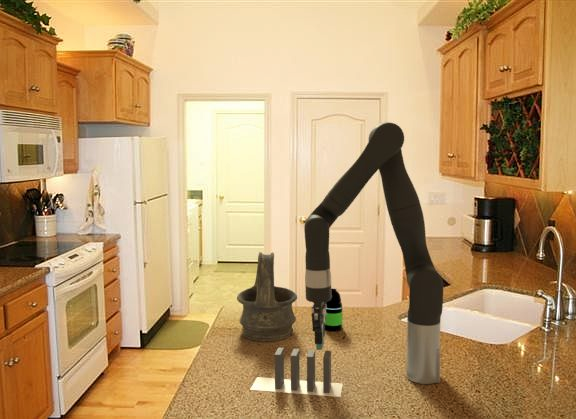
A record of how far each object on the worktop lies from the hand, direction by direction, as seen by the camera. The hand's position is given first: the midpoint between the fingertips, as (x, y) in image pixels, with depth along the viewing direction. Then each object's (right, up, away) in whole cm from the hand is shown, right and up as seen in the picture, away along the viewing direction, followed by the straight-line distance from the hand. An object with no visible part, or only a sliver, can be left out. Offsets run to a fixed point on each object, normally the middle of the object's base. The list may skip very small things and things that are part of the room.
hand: (319, 339), depth 151 cm
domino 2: (-7, -11, -6) cm, 15 cm away
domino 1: (-12, -11, -6) cm, 17 cm away
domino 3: (-3, -11, -7) cm, 14 cm away
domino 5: (+2, -11, -8) cm, 14 cm away
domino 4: (0, -2, 0) cm, 2 cm away
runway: (-7, -12, -7) cm, 15 cm away
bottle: (+7, -6, +41) cm, 43 cm away
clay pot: (-17, -7, +38) cm, 42 cm away
